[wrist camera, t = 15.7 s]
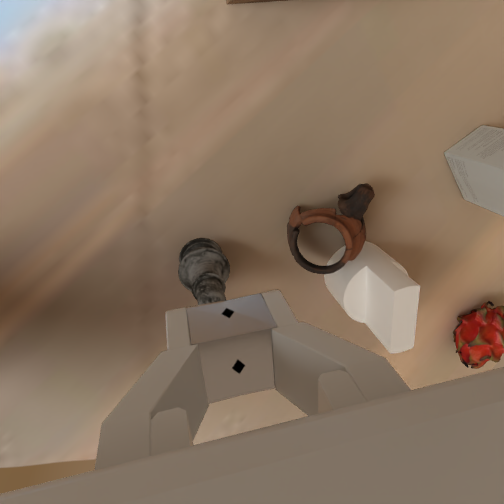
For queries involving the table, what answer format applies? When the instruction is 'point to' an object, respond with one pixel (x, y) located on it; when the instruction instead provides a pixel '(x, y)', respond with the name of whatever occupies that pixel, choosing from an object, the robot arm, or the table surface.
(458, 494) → the robot arm
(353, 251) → the brown grey sculpted ring
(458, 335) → the dragon fruit
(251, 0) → the hitch block
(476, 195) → the skincare box
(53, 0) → the table surface
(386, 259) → the base with upright slab
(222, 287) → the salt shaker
